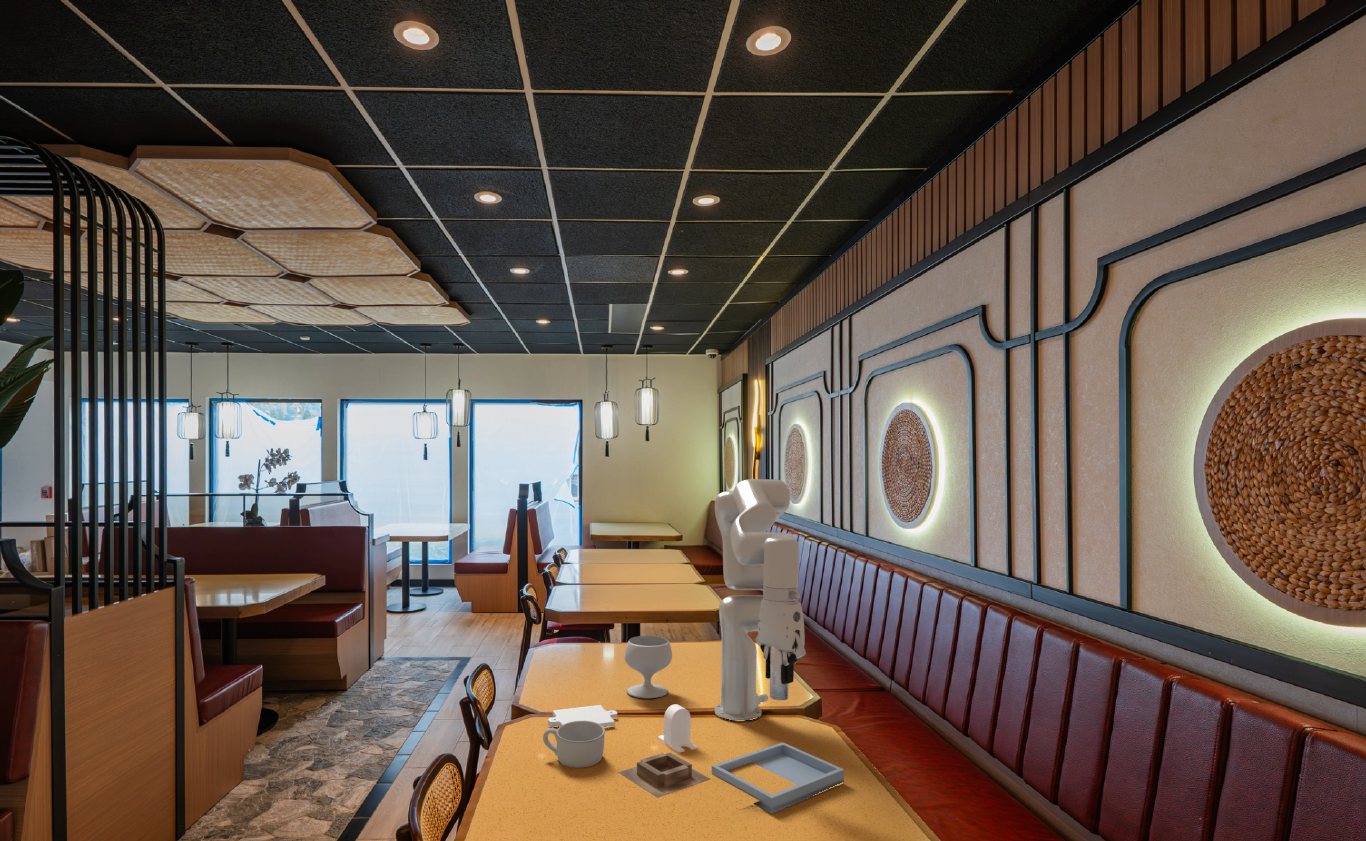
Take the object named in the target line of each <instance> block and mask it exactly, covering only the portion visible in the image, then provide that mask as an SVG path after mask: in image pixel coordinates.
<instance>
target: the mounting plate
mask: <svg viewBox="0 0 1366 841" xmlns="http://www.w3.org/2000/svg"><path fill="white" fill-rule="evenodd" d="M612 717H617V718H618V712H617V710H615V709H614V710H613V709H610V710H606V709H605V708H604V707H603V706H602V705H601V704H596V705H589V706H579V707H571V708H563V709H562V708H561V709H556V710H555V709H554V710H552V717H549V718H548V719H547V720H548V722H547V725H549V726H550V727H554V726H560V727H561V726H562V725H564V724H566V723H569V722H573V721H592V722H596V723H598V724H600V725H602V726H603V727H607V726H615V724H616V722H615V721H616V720H613V719H612ZM549 726H548V727H549ZM550 727H549V728H550ZM615 727H616V726H615Z"/></svg>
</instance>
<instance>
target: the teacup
mask: <svg viewBox="0 0 1366 841" xmlns="http://www.w3.org/2000/svg"><path fill="white" fill-rule="evenodd" d="M549 734H551V735H552V734H553V736H554V737H555V738H554V739H555V741H556V745H554V744H553V743H552V742H551V741H550V740H549V737H548V735H549ZM605 734H606V729H605V728H604V727H603V726H602V725H600V724H598V723H596V722H592V721H573V722H569V723H566V724H564V725H562V726H561V727H559V728H558V727H557V729H556V728H550V727H548V728H547V729H546V730H544V732H543V735H542V740H543V743H544V745H545V747H547V748H548V749H550V750H551V751H552V752H554V754H555V756H556V757H557V760H558V761H559V763H560V764H561V765H563V766H565V767H568V768H573V769H574V768H575V769H577V768H579V769H580V768H581V769H583V768H588V767H591V766H595V765H597V764H598V763H599V762H601V760H602V759H603V755H604V750H605Z"/></svg>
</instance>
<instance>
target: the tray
mask: <svg viewBox="0 0 1366 841" xmlns="http://www.w3.org/2000/svg"><path fill="white" fill-rule="evenodd" d="M750 763H753V764H754V765H757V766H759V767H761V768H762V769H764V770H766V771H768V772H770V773H773V774H775V775H777V776H778V777H780V778H783V779H785V780H787V781H789V782H791V783H793V784H795V785H794V786H791V787H788V788H785V789H783V790H780V791H778V792H775V793H772V794H771V793H770V792H767V791H765V790H764V789H762V788H760V787H758V786H756V785H754V784H752V783H751V782H748V781H746V780H744V779H742V778H741V777H740V776H737V775H736V774H733V773H732V772H730V771H731V770H732V769H733V770H734V769H735V768H739V767H742V766H745V765H748V764H750ZM711 774H712V775H714V776H715V777H718V778H719V779H721V780H723V781H725V782H727V783H728V784H730V785H731V786H733V787H736V788H738V789H740V790H741V791H743V792H745V793H746V794H748V795H751V797H754V798H756V799H758V801H756V802H754V803H752V804H753V805H755V806H757V807H759V808H761V809H762V810H764V811H766V813H767V812H768V813H769V814H771V815H773V814H775V813H777V812H780V811H782V810H784V809H787V808H789V807H791V806H790V805H792V806H794V805H796V804H795V803H797V802H799V803H801V802H803V801H802V800H804V799H806V800H808V799H807V798H809V797H811V798H813V797H814V796H813V795H815V794H818V793H819V792H822V791H824V790H826V789H829V788H830V787H833V786H835V785H837V784H840V783H842V782H844V783H845V769H844V768H841V767H840V766H837V765H835V764H833V763H830V762H829V761H826V760H824V759H821V758H819V757H817V756H814V755H812V754H810V753H808V752H806V751H804V750H801V749H799V748H797V747H795V746H792V745H789V744H787V743H785V742H783V741H782V742H780V743H776V744H774V745H771V746H768V747H764V748H761V749H759V750H756V751H752V752H749V753H746V754H743V755H741V756H737V757H735V758H732V759H728V760H726V761H722V762H719V763H716V764H714V765H711ZM818 795H819V794H818ZM812 796H813V797H812ZM809 799H810V798H809ZM804 801H805V800H804ZM797 804H798V803H797ZM786 807H787V808H786Z"/></svg>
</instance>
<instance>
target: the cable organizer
mask: <svg viewBox="0 0 1366 841" xmlns="http://www.w3.org/2000/svg"><path fill="white" fill-rule="evenodd" d="M691 717H692V716H691V714H690V711H689V710H687V708H684V707H683V706H682V705H680V704H677V703H676V704H671V705H670V706H668V708H667V709H666V710H665V712H664V715H663V734H662V735H658V737H657V739H658V740H659V741H661V742H663V744H665V745H667V746H668V747H670V748H671V749H672V750H674V752H676V753H679V754H681V753H685V752H686V751H685V749H684V748H683V747H687V748H688V749H689V750H692V751H693V750H697V749H698V746H697V745H696V744H694V743H693V742H691V726H692V725H691V719H692V718H691Z"/></svg>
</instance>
